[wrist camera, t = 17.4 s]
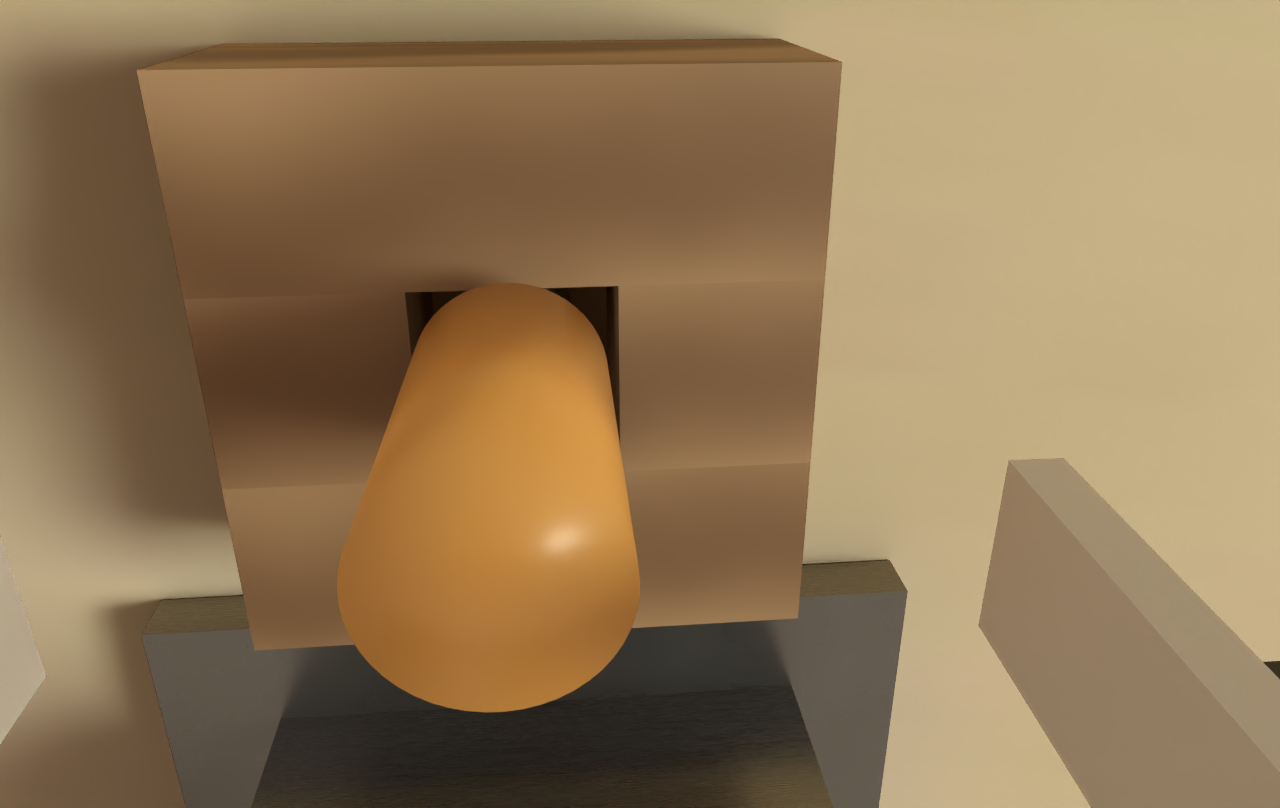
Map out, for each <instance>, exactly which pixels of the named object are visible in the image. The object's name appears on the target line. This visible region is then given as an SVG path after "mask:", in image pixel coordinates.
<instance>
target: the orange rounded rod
mask: <svg viewBox="0 0 1280 808" xmlns="http://www.w3.org/2000/svg"><path fill="white" fill-rule="evenodd" d="M337 595H338V604H339V608H340V612H341V616H342V619H343V622H344V625H345V627H346V629H347V631H348V634H349V636H350V638H351V639H352V641H353V643H354V644H355V646H356V647H357V649H358V651H359V652H360V653H361V654H362V656H363V657H364V658H365V659H366V660H367V661H368V663H369V664H370V665H371V666H372V667H373V668H374V669H375V670H377V671H378V672H379V673H380V674H381V675H382V676H383V677H384V678H386V679H387V680H389V681H390V682H391V683H393V684H394V685H396V686H397V687H399V688H400V689H402V690H404V691H406V692H408V693H410V694H411V695H413V696H415V697H418V698H420V699H423V700H425V701H428V702H430V703H433V704H437V705H440V706H444V707H447V708H452V709H458V710H464V711H473V712H507V711H514V710H521V709H526V708H530V707H534V706H538V705H542V704H544V703H547V702H550V701H553V700H555V699H558V698H560V697H562V696H564V695H566V694H568V693H570V692H572V691H574V690H576V689H577V688H579V687H580V686H582V685H583V684H585V683H586V682H588V681H589V680H591V679H592V678H593V677H594V676H595V675H597V674H598V673H599V672H600V671H601V670H603V668H604V667H605V666H606V665H607V664H608V663H609V662H610V661H611V660H612V659H613V658H614V656H615V655H616V654H617V652H618V651H619V649H620V648H621V647H622V645H623V644H624V642H625V640H626V638H627V636H628V634H629V632H630V630H631V628H632V625H633V622H634V620H635V617H636V614H637V609H638V604H639V598H640V576H639V567H638V560H637V554H636V547H635V541H634V534H633V527H632V521H631V514H630V508H629V501H628V495H627V488H626V481H625V475H624V468H623V462H622V455H621V449H620V442H619V435H618V429H617V422H616V416H615V409H614V403H613V396H612V390H611V383H610V376H609V370H608V363H607V358H606V354H605V350H604V347H603V344H602V342H601V340H600V337H599V335H598V334H597V332H596V330H595V329H594V327H593V325H592V324H591V323H590V322H589V320H588V319H587V318H586V317H585V315H584V314H582V313H581V312H580V311H579V310H578V309H577V308H576V307H575V306H574V305H572V304H571V294H570V287H569V288H539V287H536V286H532V285H527V284H519V283H497V284H489V285H485V286H481V287H477V288H474V289H472V290H469V291H465V292H464V293H462V294H461V295H459V296H457V297H455V298H453V299H452V300H450V301H449V302H448V303H446V304H445V305H444V306H442V307H441V308H440V309H439V310H438V311H437V312H436V313H435V314H434V315H433V317H432V318H431V319H430V320H429V322H428V323H427V324H426V326H425V328H424V329H423V331H422V333H421V335H420V337H419V339H418V342H417V345H416V347H415V350H414V353H413V356H412V358H411V361H410V364H409V367H408V369H407V372H406V375H405V378H404V381H403V383H402V386H401V389H400V392H399V395H398V397H397V400H396V403H395V406H394V409H393V411H392V414H391V417H390V420H389V423H388V425H387V428H386V431H385V434H384V436H383V439H382V442H381V445H380V448H379V450H378V453H377V456H376V459H375V462H374V464H373V467H372V470H371V473H370V476H369V478H368V481H367V484H366V487H365V490H364V492H363V495H362V498H361V501H360V504H359V506H358V509H357V512H356V515H355V517H354V520H353V523H352V526H351V529H350V531H349V534H348V537H347V540H346V543H345V545H344V548H343V551H342V554H341V558H340V563H339V567H338V575H337Z"/></svg>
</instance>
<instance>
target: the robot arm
mask: <svg viewBox="0 0 1280 808" xmlns="http://www.w3.org/2000/svg"><path fill="white" fill-rule="evenodd" d="M979 627H980V629H981V630H982V632H983V633H984V635H985V637H986V638H987V640H988V641H989V643H990V645H991V646H992V648H993V650H994V651H995V653H996V654H997V656H998V658H999V659H1000V661H1001V662H1002V664H1003V666H1004V667H1005V669H1006V671H1007V672H1008V674H1009V675H1010V677H1011V679H1012V680H1013V682H1014V683H1015V685H1016V687H1017V688H1018V690H1019V692H1020V693H1021V695H1022V696H1023V698H1024V700H1025V701H1026V703H1027V704H1028V706H1029V708H1030V709H1031V711H1032V713H1033V714H1034V716H1035V717H1036V719H1037V721H1038V722H1039V724H1040V725H1041V727H1042V729H1043V730H1044V732H1045V734H1046V735H1047V737H1048V738H1049V740H1050V742H1051V743H1052V745H1053V746H1054V748H1055V750H1056V751H1057V753H1058V755H1059V756H1060V758H1061V759H1062V761H1063V763H1064V764H1065V766H1066V767H1067V769H1068V771H1069V772H1070V774H1071V775H1072V777H1073V779H1074V780H1075V782H1076V784H1077V785H1078V787H1079V788H1080V790H1081V792H1082V793H1083V795H1084V796H1085V798H1086V800H1087V801H1088V803H1089V805H1090V806H1091V808H1280V661H1272V662H1262V661H1261V660H1260V659H1259V658H1258V657H1257V656H1256V655H1255V653H1254V652H1253V651H1252V650H1251V649H1250V648H1249V647H1248V646H1247V645H1246V644H1245V643H1244V642H1243V641H1242V640H1241V639H1240V638H1239V637H1238V636H1237V635H1236V634H1235V633H1234V632H1233V631H1232V630H1231V629H1230V628H1229V627H1228V626H1227V625H1226V624H1225V623H1224V622H1223V621H1222V620H1221V619H1220V618H1219V617H1218V616H1217V615H1216V614H1215V613H1214V612H1213V611H1212V609H1211V608H1210V607H1209V606H1208V605H1207V604H1206V603H1205V602H1204V601H1203V600H1202V599H1201V598H1200V597H1199V596H1198V595H1197V594H1196V593H1195V592H1194V591H1193V590H1192V589H1191V588H1190V587H1189V586H1188V585H1187V584H1186V583H1185V582H1184V581H1183V580H1182V579H1181V578H1180V577H1179V576H1178V575H1177V574H1176V573H1175V572H1174V571H1173V570H1172V569H1171V568H1170V566H1169V565H1168V564H1167V563H1166V562H1165V561H1164V560H1163V559H1162V558H1161V557H1160V556H1159V555H1158V554H1157V553H1156V552H1155V551H1154V550H1153V549H1152V548H1151V547H1150V546H1149V545H1148V544H1147V543H1146V542H1145V541H1144V540H1143V539H1142V538H1141V537H1140V536H1139V535H1138V534H1137V533H1136V532H1135V531H1134V530H1133V529H1132V528H1131V527H1130V526H1129V525H1128V524H1127V522H1126V521H1125V520H1124V519H1123V518H1122V517H1121V516H1120V515H1119V514H1118V513H1117V512H1116V511H1115V510H1114V509H1113V508H1112V507H1111V506H1110V505H1109V504H1108V503H1107V502H1106V501H1105V500H1104V499H1103V498H1102V497H1101V496H1100V495H1099V494H1098V493H1097V492H1096V491H1095V490H1094V489H1093V488H1092V487H1091V486H1090V485H1089V484H1088V483H1087V482H1086V481H1085V480H1084V478H1083V477H1082V476H1081V475H1080V474H1079V473H1078V472H1077V471H1076V470H1075V469H1074V468H1073V467H1072V466H1071V465H1070V464H1069V463H1068V462H1067V461H1066V460H1065V459H1064V458H1054V459H1030V460H1009V462H1008V467H1007V473H1006V478H1005V483H1004V489H1003V494H1002V500H1001V505H1000V511H999V516H998V522H997V527H996V533H995V538H994V544H993V549H992V555H991V560H990V566H989V571H988V577H987V582H986V588H985V593H984V599H983V604H982V610H981V615H980V621H979ZM45 677H46V673H45V670H44V667H43V664H42V661H41V658H40V655H39V652H38V649H37V646H36V643H35V640H34V637H33V634H32V631H31V628H30V625H29V622H28V619H27V616H26V613H25V610H24V607H23V604H22V600H21V597H20V594H19V591H18V588H17V585H16V582H15V579H14V576H13V573H12V570H11V567H10V564H9V561H8V558H7V555H6V552H5V549H4V546H3V543H2V540H1V537H0V744H1V743H2V741H3V740H4V738H5V737H6V735H7V734H8V732H9V731H10V729H11V728H12V726H13V725H14V723H15V722H16V720H17V719H18V717H19V716H20V714H21V713H22V711H23V710H24V709H25V707H26V706H27V704H28V703H29V701H30V700H31V698H32V697H33V695H34V694H35V692H36V691H37V689H38V688H39V686H40V685H41V683H42V682H43V680H44V679H45Z"/></svg>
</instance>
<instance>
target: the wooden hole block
mask: <svg viewBox="0 0 1280 808" xmlns="http://www.w3.org/2000/svg"><path fill="white" fill-rule="evenodd" d="M841 69H842V62H841V61H838V60H835V59H832V58H830V57H827V56H824V55H822V54H819V53H816V52H814V51H811V50H808V49H806V48H803V47H800V46H798V45H795V44H792V43H789V42H787V41H784V40H781V39H710V40H604V41H497V42H390V43H284V44H222V45H218V46H215V47H212V48H208V49H205V50H202V51H198V52H195V53H192V54H188V55H185V56H182V57H178V58H175V59H172V60H168V61H165V62H162V63H158V64H155V65H152V66H148V67H145V68H142V69H139V70H137V75H138V80H139V85H140V90H141V95H142V100H143V105H144V110H145V115H146V119H147V124H148V129H149V134H150V139H151V144H152V149H153V154H154V159H155V164H156V169H157V174H158V178H159V183H160V188H161V193H162V198H163V203H164V208H165V213H166V218H167V223H168V228H169V233H170V237H171V242H172V247H173V252H174V257H175V262H176V267H177V272H178V277H179V282H180V287H181V291H182V296H183V301H184V306H185V311H186V316H187V321H188V326H189V331H190V336H191V341H192V346H193V350H194V355H195V360H196V365H197V370H198V375H199V380H200V385H201V390H202V395H203V400H204V405H205V409H206V414H207V419H208V424H209V429H210V434H211V439H212V444H213V449H214V454H215V459H216V463H217V468H218V473H219V478H220V483H221V488H222V493H223V498H224V503H225V508H226V513H227V518H228V522H229V527H230V532H231V537H232V542H233V547H234V552H235V557H236V562H237V567H238V572H239V576H240V581H241V586H242V591H243V596H244V601H245V606H246V611H247V616H248V621H249V626H250V631H251V635H252V640H253V645H254V650H272V649H288V648H305V647H322V646H339V645H355V644H354V643H353V641H352V639H351V638H350V636H349V634H348V631H347V629H346V627H345V625H344V622H343V619H342V616H341V612H340V608H339V604H338V595H337V575H338V567H339V563H340V558H341V554H342V551H343V548H344V545H345V543H346V540H347V537H348V534H349V531H350V529H351V526H352V523H353V520H354V517H355V515H356V512H357V509H358V506H359V504H360V501H361V498H362V495H363V492H364V490H365V487H366V484H367V481H368V478H369V476H370V473H371V470H372V467H373V464H374V462H375V459H376V456H377V453H378V450H379V448H380V445H381V442H382V439H383V436H384V434H385V431H386V428H387V425H388V423H389V420H390V417H391V414H392V411H393V409H394V406H395V403H396V400H397V397H398V395H399V392H400V389H401V386H402V383H403V381H404V378H405V375H406V372H407V369H408V367H409V364H410V361H411V358H412V356H413V353H414V350H415V347H416V345H417V342H418V339H419V337H420V335H421V333H422V331H423V329H424V328H425V326H426V324H427V323H428V322H429V320H430V319H431V318H432V317H433V315H434V314H435V313H436V312H437V311H438V310H439V309H440V308H441V307H442V306H444V305H445V304H446V303H448V302H449V301H450V300H452V299H453V298H455V297H457V296H459V295H461V294H462V293H464V292H465V291H469V290H472V289H474V288H477V287H481V286H485V285H489V284H497V283H519V284H527V285H532V286H536V287H539V288H569V287H570V294H571V304H572V305H574V306H575V307H576V308H577V309H578V310H579V311H580V312H581V313H582V314H584V315H585V317H586V318H587V319H588V320H589V322H590V323H591V324H592V325H593V327H594V329H595V330H596V332H597V334H598V335H599V337H600V340H601V342H602V344H603V347H604V350H605V354H606V358H607V363H608V370H609V376H610V383H611V390H612V396H613V403H614V409H615V416H616V422H617V429H618V435H619V442H620V449H621V455H622V462H623V468H624V475H625V481H626V488H627V495H628V501H629V508H630V514H631V521H632V527H633V534H634V541H635V547H636V554H637V560H638V567H639V576H640V598H639V604H638V609H637V614H636V617H635V620H634V622H633V625H632V628H643V627H660V626H677V625H694V624H711V623H727V622H744V621H761V620H778V619H795V618H798V611H799V598H800V585H801V573H802V560H803V548H804V535H805V522H806V510H807V497H808V485H809V472H810V459H811V447H812V434H813V422H814V409H815V396H816V384H817V371H818V359H819V346H820V333H821V321H822V308H823V296H824V283H825V270H826V258H827V245H828V233H829V220H830V207H831V195H832V182H833V170H834V157H835V145H836V132H837V119H838V107H839V94H840V82H841Z"/></svg>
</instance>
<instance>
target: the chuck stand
mask: <svg viewBox="0 0 1280 808" xmlns="http://www.w3.org/2000/svg"><path fill="white" fill-rule="evenodd" d="M906 599H907V589H906V588H905V586H904V584H903V582H902V581H901V579H900V577H899V575H898V574H897V572H896V570H895V569H894V567H893V565H892V563H891V562H890V560H886V561H868V562H850V563H831V564H813V565H802V573H801V585H800V598H799V611H798V618H795V619H778V620H761V621H744V622H727V623H711V624H694V625H677V626H660V627H643V628H631V630H630V632H629V634H628V636H627V638H626V640H625V642H624V644H623V645H622V647H621V648H620V649H619V651H618V652H617V654H616V655H615V656H614V658H613V659H612V660H611V661H610V662H609V663H608V664H607V665H606V666H605V667H604V668H603V670H601V671H600V672H599V673H598V674H597V675H595V676H594V677H593V678H592V679H591V680H589V681H588V682H586V683H585V684H583V685H582V686H580V687H579V688H577V689H576V690H574V691H572V692H570V693H568V694H566V695H564V696H562V697H560V698H558V699H555V700H553V701H550V702H547V703H544V704H542V705H538V706H534V707H530V708H526V709H521V710H514V711H507V712H473V711H464V710H458V709H452V708H447V707H444V706H440V705H437V704H433V703H430V702H428V701H425V700H423V699H420V698H418V697H415V696H413V695H411V694H410V693H408V692H406V691H404V690H402V689H400V688H399V687H397V686H396V685H394V684H393V683H391V682H390V681H389V680H387V679H386V678H384V677H383V676H382V675H381V674H380V673H379V672H378V671H377V670H375V669H374V668H373V667H372V666H371V665H370V664H369V663H368V661H367V660H366V659H365V658H364V657H363V656H362V654H361V653H360V652H359V651H358V649H357V647H356V646H355V645H339V646H322V647H305V648H288V649H272V650H254V645H253V640H252V635H251V631H250V626H249V621H248V616H247V611H246V606H245V601H244V596H228V597H209V598H191V599H173V600H161V602H160V604H159V605H158V607H157V609H156V611H155V612H154V614H153V616H152V617H151V619H150V621H149V623H148V624H147V626H146V628H145V630H144V631H143V633H142V635H141V636H142V640H143V644H144V648H145V652H146V655H147V659H148V663H149V667H150V671H151V675H152V678H153V682H154V686H155V690H156V694H157V698H158V701H159V705H160V709H161V713H162V717H163V721H164V724H165V728H166V732H167V736H168V740H169V744H170V748H171V751H172V755H173V759H174V763H175V767H176V771H177V774H178V778H179V782H180V786H181V790H182V794H183V797H184V801H185V805H186V808H879V800H880V793H881V786H882V778H883V771H884V763H885V756H886V748H887V741H888V733H889V726H890V718H891V711H892V703H893V696H894V689H895V681H896V674H897V666H898V659H899V651H900V644H901V636H902V629H903V621H904V614H905V606H906Z"/></svg>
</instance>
